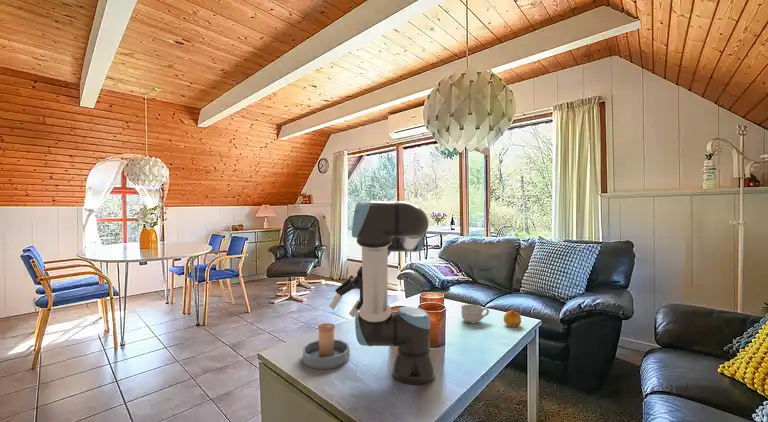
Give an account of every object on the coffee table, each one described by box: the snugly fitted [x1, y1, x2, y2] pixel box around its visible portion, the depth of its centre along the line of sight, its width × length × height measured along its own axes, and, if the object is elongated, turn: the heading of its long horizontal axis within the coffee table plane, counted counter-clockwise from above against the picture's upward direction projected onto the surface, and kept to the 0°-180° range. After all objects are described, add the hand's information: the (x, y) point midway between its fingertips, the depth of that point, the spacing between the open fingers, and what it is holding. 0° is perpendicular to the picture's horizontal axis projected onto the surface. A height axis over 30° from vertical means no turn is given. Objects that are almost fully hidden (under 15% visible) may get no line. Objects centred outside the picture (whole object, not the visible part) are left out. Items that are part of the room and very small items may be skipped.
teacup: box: [460, 304, 490, 323], centre depth 181 cm, size 14×11×8 cm
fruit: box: [503, 309, 522, 327], centre depth 176 cm, size 8×8×8 cm
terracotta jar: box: [317, 322, 336, 358], centre depth 138 cm, size 7×7×12 cm
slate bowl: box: [302, 338, 351, 370], centre depth 138 cm, size 18×18×4 cm
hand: (340, 311), depth 142 cm, fingers open, 13 cm apart
